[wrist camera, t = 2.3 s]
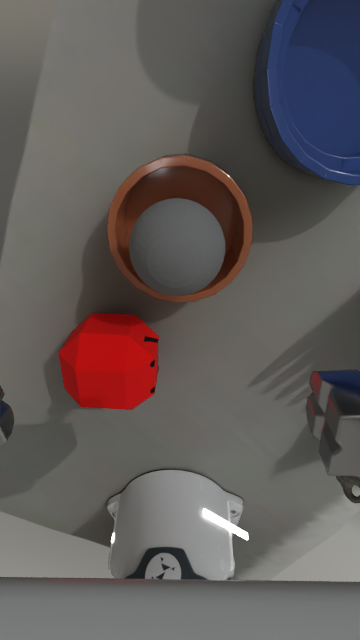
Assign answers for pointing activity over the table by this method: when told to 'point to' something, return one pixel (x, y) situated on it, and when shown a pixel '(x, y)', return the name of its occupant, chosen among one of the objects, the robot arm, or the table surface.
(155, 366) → the ball
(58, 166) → the table surface
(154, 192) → the terracotta dish
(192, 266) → the light bulb
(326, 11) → the blue bowl
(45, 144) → the table surface
